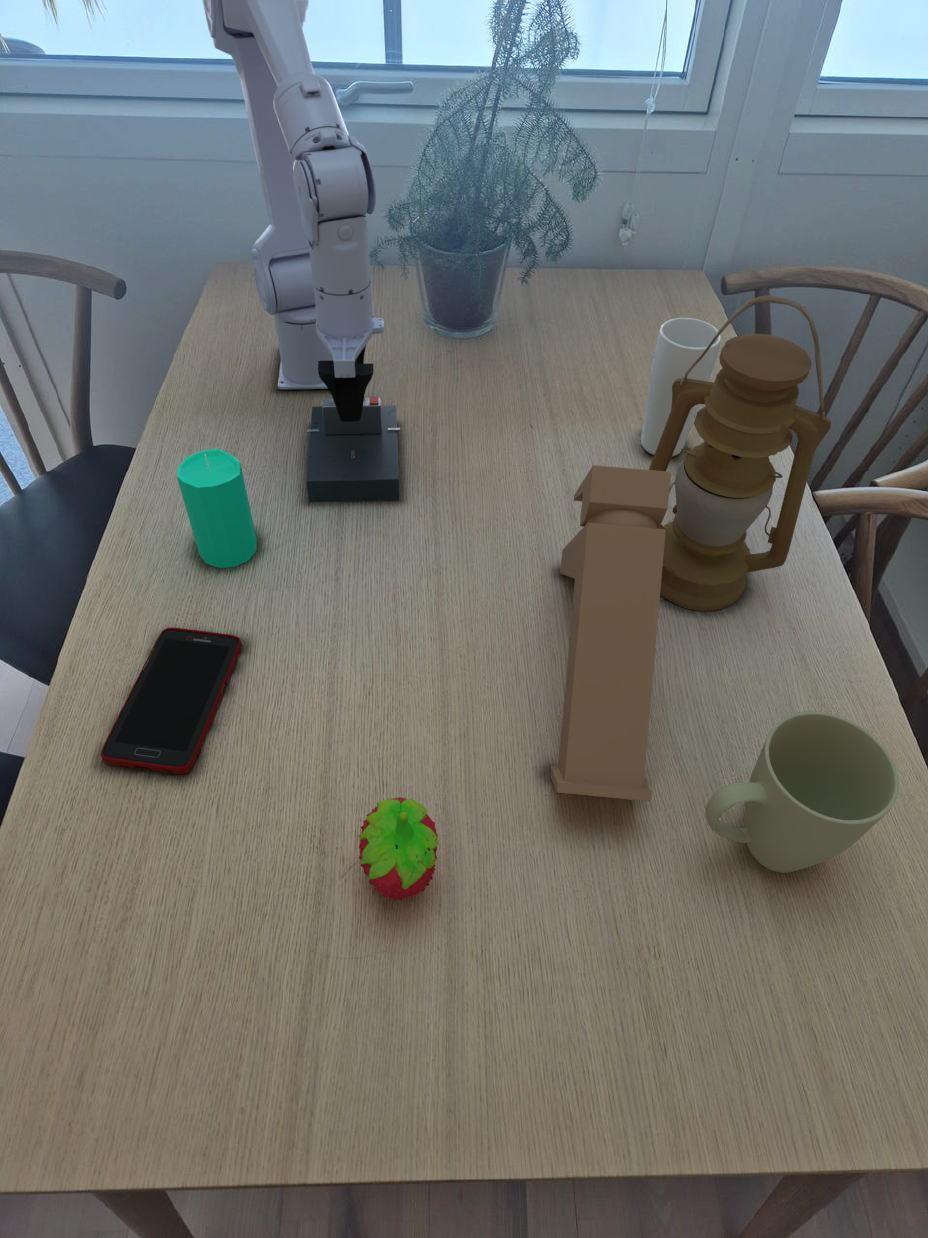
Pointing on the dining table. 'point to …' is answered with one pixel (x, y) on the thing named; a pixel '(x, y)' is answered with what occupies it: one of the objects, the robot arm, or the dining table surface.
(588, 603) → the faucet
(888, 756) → the mug
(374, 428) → the tap handle
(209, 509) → the candle
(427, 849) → the strawberry
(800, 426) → the lantern
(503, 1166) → the dining table surface
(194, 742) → the cell phone
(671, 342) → the white cup
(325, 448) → the plate
